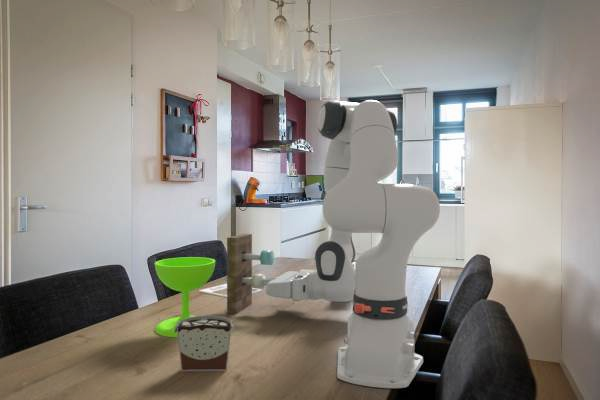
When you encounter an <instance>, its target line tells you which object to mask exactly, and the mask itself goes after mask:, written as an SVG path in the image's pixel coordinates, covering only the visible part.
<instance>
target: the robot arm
mask: <svg viewBox="0 0 600 400" xmlns="http://www.w3.org/2000/svg"><path fill="white" fill-rule="evenodd" d="M317 126H318V132H319V134H320V135H321V136H322V137H323V138H326V139H328V140H330V142H329V144H328V147H327V151H326V157H325V162H324V171H323V187H324V192H325V196H324V198H323V201H322V215H323V218H324V220H325V221H326V224H327V225H328V226H329V227H330V228H331V233H330V238H329V239H328V240H326V241H324V242H322V243H321V244H320V245H319V246H317V248H316V251H315V254H314V261H315V267H316V269H306V268H305V269H303V268H302V269H299V271H290V270H288V271H286V272H284V273H282V274H280V275H279V276H275V277H265V279H263V280H262V285H265V289H266V291H265V292H266V295H268V296H269V297H274V298H279V299H280V298H281V299H289V300H290V299H291V300H292V301H294V302H300V301H304V300H305V301H306V300H307V301H308V300H309V301H310V300H312V301H318V300H323V301H328V302H339V303H340V302H341V303H342V302H343V303H344V302H348V301H349V302H351V301H352V313H351V314H350V315H349V316H347V337H344V338H343V343H344V346H341V347H338V349H337V368H336V377H337V379H339V380H342V381H344V382H346V383H350V384H353V385H358V386H365V387H371V388H381V389H403V388H407V387H409V385H410V384H411V382H412V381H413V380H414V378H415V377H416V374H417V373H418V371H419V369H420V368H421V366H422V365H423V363H424V356H422V355H420V354H418V353H416V352H415V350H416V348H415V337H416V335H415V334H416V333H415V323H414V322H413V320H411V319H410V317H409V316H408V307H409V302H408V296H407V295H406V283H407V282H406V280H407V271H408V270H407V267H408V262H409V257H410V255H411V253H412V250H413V248H414V247H415V245H416V243H418V241H419V240H420V239H421V237H423V235H425V234H426V233H427V232H428V231H430V230H431V229H433V227H434V225H435V224H436V223H437V222H438V220H439V217H440V214H441V213H440V212H441V207H440V206H441V205H440V200H439V198H438V196H437V194H436V192H435V191H434V190H433V189H432V188H431V187H427V186H422V185H419V184H413V183H412V184H411V183H381V182H380V181H383V180H384V179H387V178H388V177H390V176H391V175H392V174H393V173H394V172H395V170H396V169H397V167H398V165H399V153H398V148H397V140H396V134H397V130H398V129H397V128H398V119H397V117H396V115H395V113H394V112H393V111H391V110H388V109H387V108H386V106H385V105H384V104H383V103H382V102H380V101H378V100H373V99H367V100H364V101H361V102H360V103H359V102H351V101H340V100H328V101H326V102H325V103H323V104H322V106H321V109H320V110H319V112H318V116H317ZM352 234H382V235H381V239H380V240H379V242H378V244H377V245H375V246H373V247H371V248H369V249H368V250H366V251H363V252H362V253H361V254H360V255H359V256H358V257H357V259H356V258H355V257H356V250H355V245H354V242H353V238H352ZM355 259H356V262H355V264H354V267H353V265H352V264H353V263H354V261H355ZM345 345H346V346H345Z"/></svg>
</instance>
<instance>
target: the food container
mask: <svg viewBox="0 0 600 400" xmlns="http://www.w3.org/2000/svg"><path fill="white" fill-rule="evenodd" d="M193 316H194V317H189V318H186V319H183V320H180V321H179V322H177V324H176V326H175V330H174V333H175V332H177V336H178V337H177V344H178V352H179V363H180V370H181V372H213V371H215V372H216V371H218V372H221V371H222V372H225V371H227V370H228V363H229V354H230V353H229V352H230V342H231V335H232V333H234V332H235V329H234V325H233V323H232V320H231V318H228V317H226V316H221V315H210V314H208V315H207V314H206V315H193Z"/></svg>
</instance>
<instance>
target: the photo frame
mask: <svg viewBox="0 0 600 400" xmlns="http://www.w3.org/2000/svg"><path fill="white" fill-rule="evenodd" d="M225 290H226V291H227V283H224V284H220V285H215V286H212V287H211V286H210V287H207V288H203V289H199V290H198V292H199V293H203V294H208V295H212V296H213V295H214V296H218V297H223V298H227V294H221V293H219V292H221V291H225ZM217 292H218V293H217ZM261 292H263V289H259V288H253V287H252V295H253V294H257V293H261Z"/></svg>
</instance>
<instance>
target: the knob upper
mask: <svg viewBox="0 0 600 400" xmlns="http://www.w3.org/2000/svg"><path fill="white" fill-rule="evenodd" d="M242 259H245V260H252V261H259V262H260V265H263V266H273V264H274V262H275V252H274V250H264V249H263V250H261V252H260V253H259V254H256V253H252V254H242Z"/></svg>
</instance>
